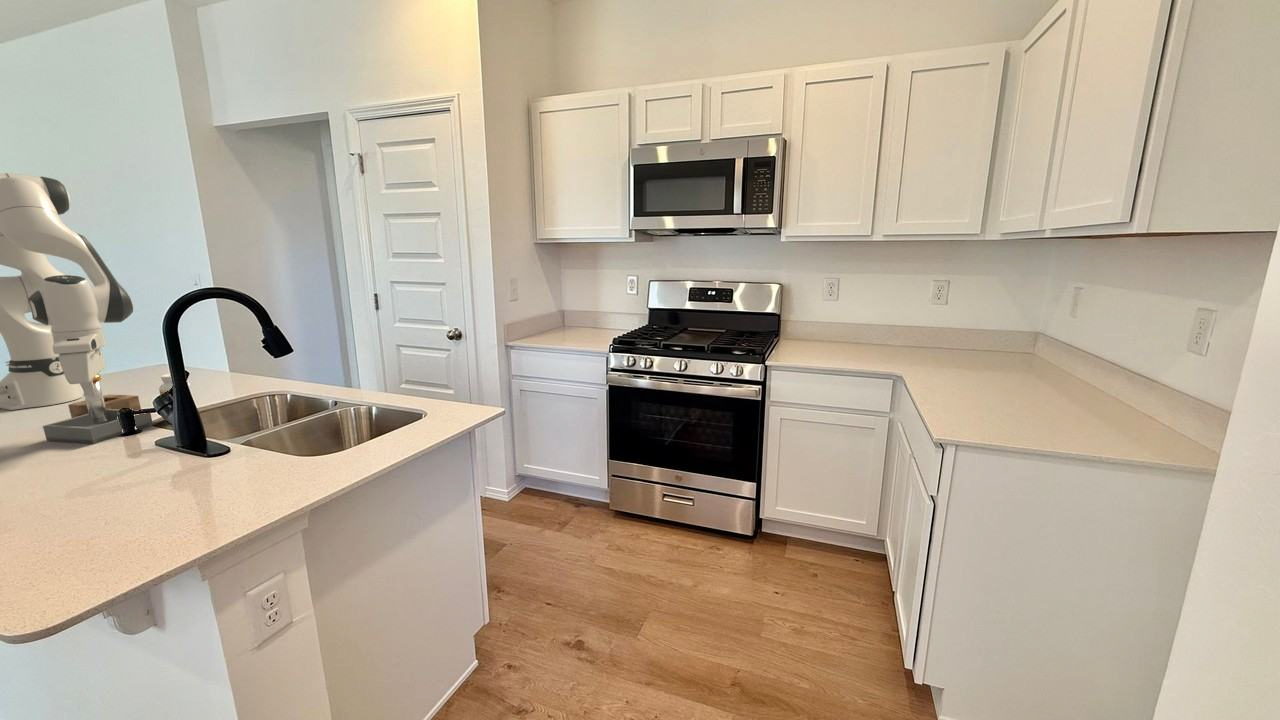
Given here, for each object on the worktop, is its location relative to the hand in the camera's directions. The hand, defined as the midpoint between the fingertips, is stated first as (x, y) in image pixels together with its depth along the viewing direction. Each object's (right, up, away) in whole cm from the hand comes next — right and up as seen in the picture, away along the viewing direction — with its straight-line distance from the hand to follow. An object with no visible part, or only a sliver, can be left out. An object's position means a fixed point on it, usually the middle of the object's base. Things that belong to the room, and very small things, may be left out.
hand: (92, 393), depth 133 cm
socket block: (-11, -8, +15) cm, 20 cm away
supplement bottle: (+11, -8, +14) cm, 19 cm away
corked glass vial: (0, -7, +2) cm, 8 cm away
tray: (0, -10, +2) cm, 11 cm away
